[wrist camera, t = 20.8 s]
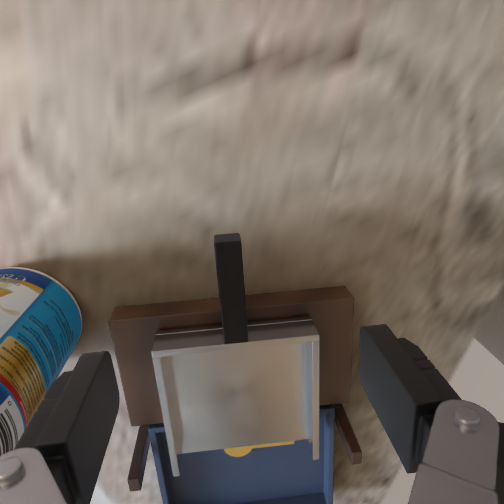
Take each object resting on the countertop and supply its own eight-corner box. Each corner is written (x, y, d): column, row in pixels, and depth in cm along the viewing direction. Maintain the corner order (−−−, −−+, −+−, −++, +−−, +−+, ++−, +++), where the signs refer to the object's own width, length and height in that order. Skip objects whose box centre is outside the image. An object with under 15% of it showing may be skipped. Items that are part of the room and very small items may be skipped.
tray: (328, 392, 34) (335, 408, 32) (327, 492, 38) (332, 510, 37) (151, 411, 33) (147, 429, 31) (170, 511, 37) (168, 531, 36)
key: (224, 454, 35) (224, 458, 35) (221, 432, 34) (221, 435, 34) (293, 447, 35) (294, 451, 35) (293, 424, 34) (294, 428, 34)
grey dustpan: (310, 222, 26) (319, 234, 24) (311, 434, 32) (319, 459, 30) (140, 236, 25) (132, 249, 23) (176, 449, 32) (173, 476, 29)
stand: (345, 285, 30) (369, 320, 26) (341, 414, 35) (361, 463, 30) (114, 307, 29) (95, 347, 25) (141, 436, 34) (129, 491, 29)
